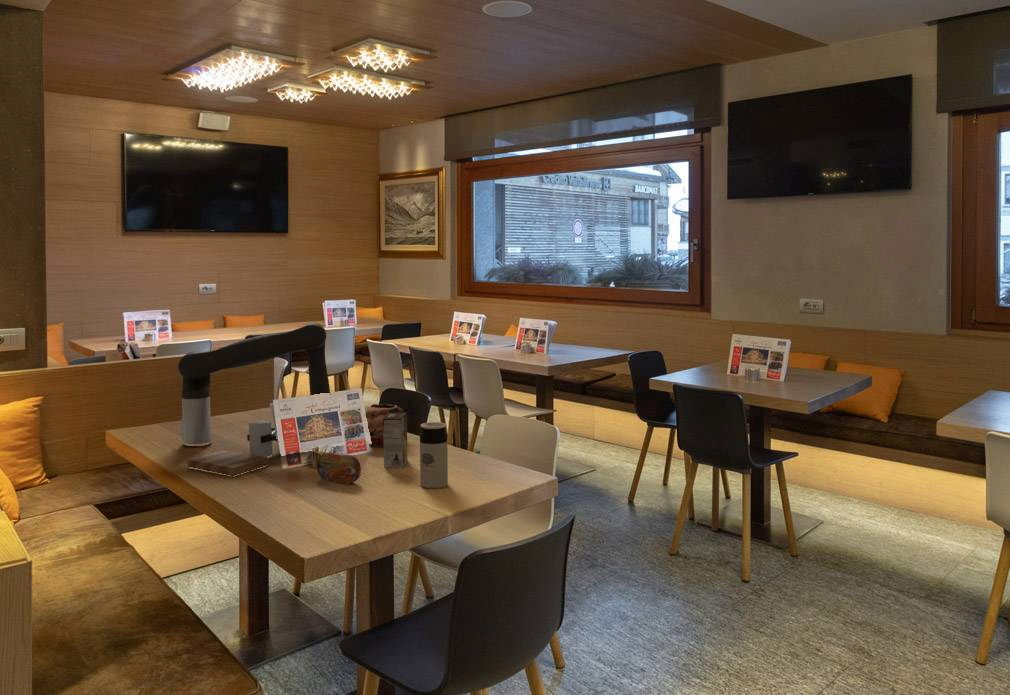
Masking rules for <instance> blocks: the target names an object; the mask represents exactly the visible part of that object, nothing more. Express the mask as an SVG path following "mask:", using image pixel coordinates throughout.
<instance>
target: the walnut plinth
mask: <svg viewBox="0 0 1010 695" xmlns="http://www.w3.org/2000/svg"><path fill="white" fill-rule="evenodd" d="M268 460H269V459H267V457H261V456H255V455H250V453H249V454H248V453H242V452H236V451H229V450H219V451H216V452H211V453H207V454H204V455H201V456H200V455H199V456H196V457H192V458H189V459H187V468H188V467H193V468H198V469H203V470H207V471H212V472H217V473H222V474H226V475H231V476H235V475H237V474H241V473H244V472H247V471H251V470H254V469H257V468H260V467H263V466H266V465H268V463H269V462H268Z"/></svg>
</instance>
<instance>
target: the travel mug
mask: <svg viewBox="0 0 1010 695" xmlns="http://www.w3.org/2000/svg"><path fill="white" fill-rule="evenodd" d="M446 427H447V424H446V423H444V422H440V421H439V422H438V421H431V422H430V421H429V422H423V423H421V424H420V428H421V433H420V435H419V471H420V472H419V474H420V475H419V477H420V478H419V481H420V482H419V483H420V485H419V486H421V487H423V488H425V489H433V490H434V489H441V488H444V487H447V485H448V483H449V481H448V480H449V474H448V472H449V469H448V467H449V466H448V463H449V462H448V460H449V459H448V455H449V454H448V434H447V432H446Z"/></svg>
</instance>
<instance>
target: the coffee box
mask: <svg viewBox="0 0 1010 695" xmlns="http://www.w3.org/2000/svg"><path fill="white" fill-rule="evenodd" d="M407 414H408V412H404V413H388V414H387V415H386V416H385V417H384V418H383V437H384V447H383V468H385V467H386V468H385V469H387V468H388V467H397V469H398V468H400V469H403V468H404V467H405V465H406V464H407V463H408V424H407V423H408V419H407V418H408V415H407ZM388 469H389V468H388Z"/></svg>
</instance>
